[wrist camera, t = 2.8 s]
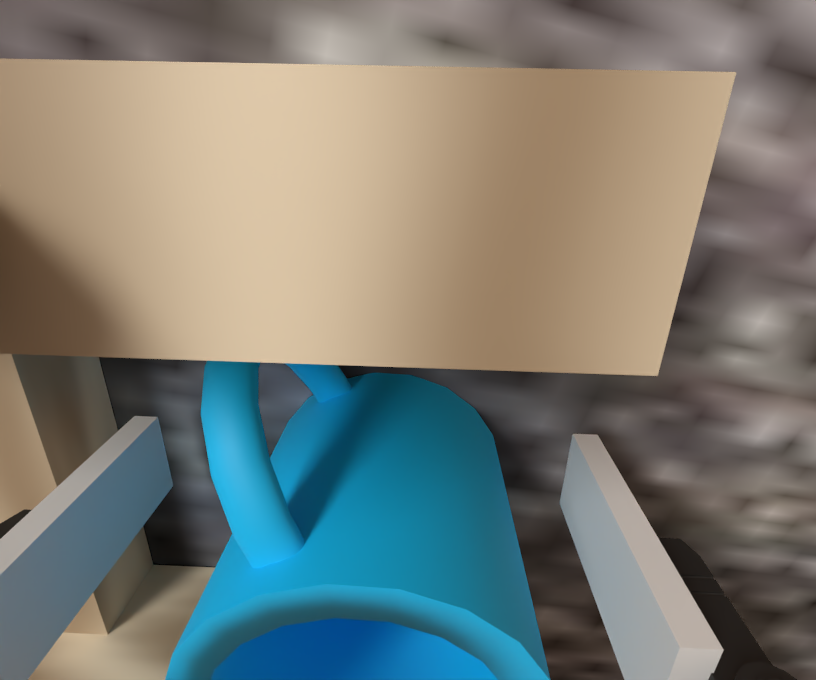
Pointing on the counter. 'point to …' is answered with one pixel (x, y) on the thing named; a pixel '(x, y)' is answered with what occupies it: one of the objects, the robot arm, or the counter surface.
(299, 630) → the mug
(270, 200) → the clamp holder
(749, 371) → the counter surface
